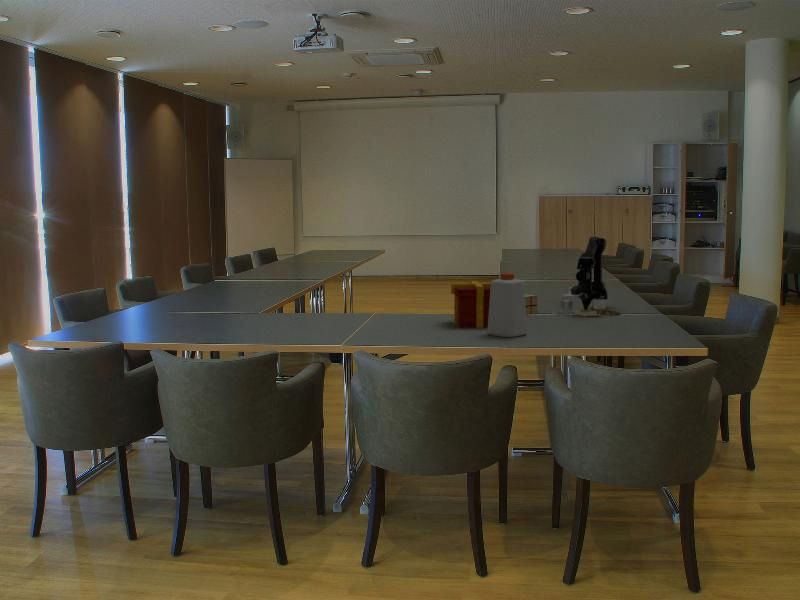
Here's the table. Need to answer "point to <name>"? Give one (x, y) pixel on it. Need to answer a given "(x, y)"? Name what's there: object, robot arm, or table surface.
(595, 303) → the block
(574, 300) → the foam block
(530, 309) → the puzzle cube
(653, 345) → the table surface
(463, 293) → the gift box
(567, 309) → the block
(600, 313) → the pallet board
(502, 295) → the plastic bottle
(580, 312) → the button console
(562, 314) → the tray
